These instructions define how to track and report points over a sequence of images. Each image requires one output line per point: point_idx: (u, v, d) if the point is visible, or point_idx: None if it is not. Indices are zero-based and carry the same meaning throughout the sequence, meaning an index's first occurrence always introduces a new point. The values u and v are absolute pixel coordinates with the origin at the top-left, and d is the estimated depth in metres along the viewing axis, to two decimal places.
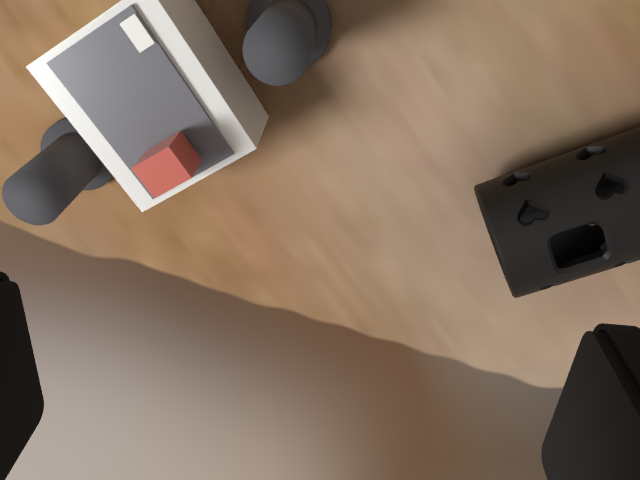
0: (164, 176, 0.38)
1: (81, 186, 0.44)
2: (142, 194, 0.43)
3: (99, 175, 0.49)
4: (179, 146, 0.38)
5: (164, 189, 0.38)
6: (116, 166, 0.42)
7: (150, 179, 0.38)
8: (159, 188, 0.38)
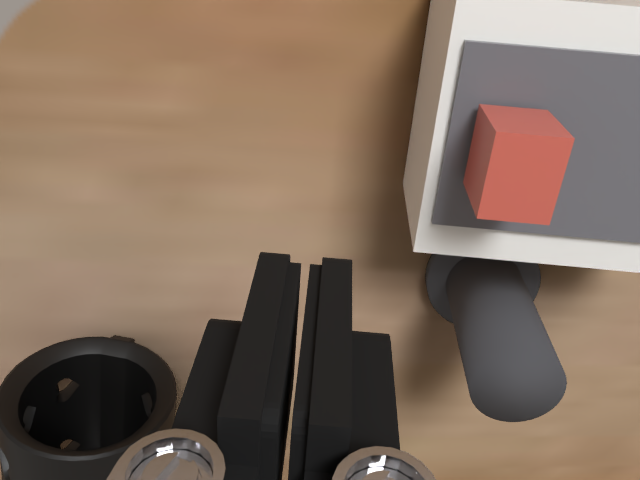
0: (514, 181, 0.19)
1: None
2: (485, 23, 0.20)
3: None
4: None
5: (495, 161, 0.19)
6: (565, 22, 0.20)
7: (530, 154, 0.18)
8: (504, 155, 0.19)
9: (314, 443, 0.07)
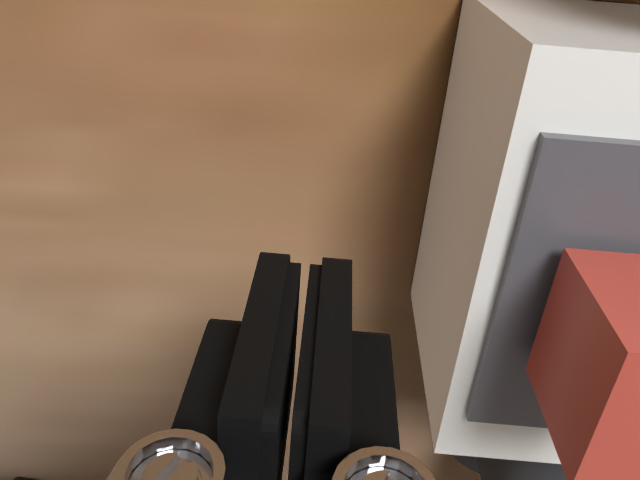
0: None
1: None
2: (583, 103, 0.10)
3: None
4: None
5: (618, 401, 0.09)
6: None
7: None
8: (639, 393, 0.09)
9: (314, 443, 0.07)
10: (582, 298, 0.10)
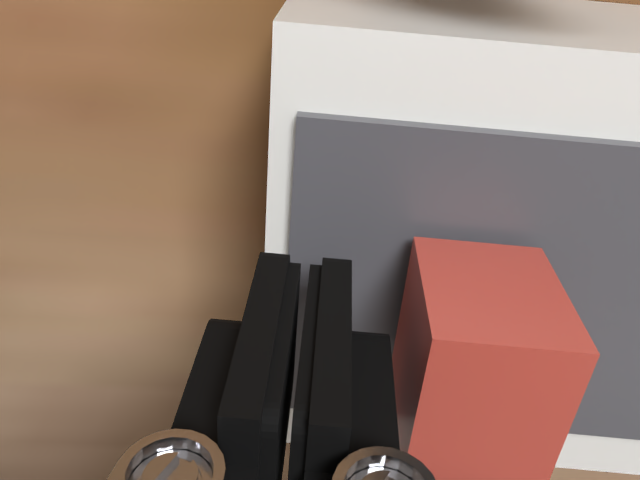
0: (473, 422, 0.09)
1: None
2: (334, 82, 0.10)
3: None
4: None
5: (432, 389, 0.09)
6: (487, 82, 0.10)
7: (506, 379, 0.09)
8: (451, 380, 0.09)
9: (314, 443, 0.07)
10: (417, 286, 0.10)
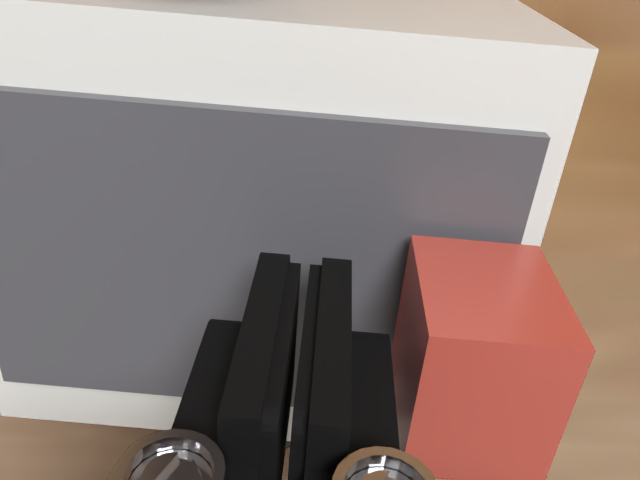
0: (471, 419, 0.09)
1: None
2: None
3: None
4: None
5: (429, 386, 0.09)
6: (109, 49, 0.10)
7: (502, 376, 0.09)
8: (448, 377, 0.09)
9: (314, 443, 0.07)
10: (415, 284, 0.10)
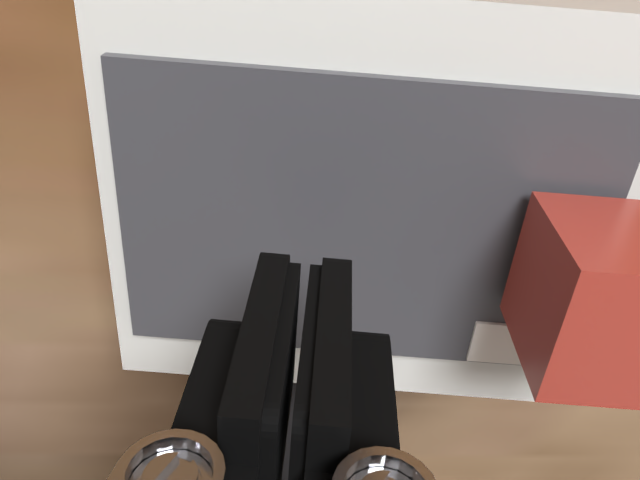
0: (606, 348, 0.11)
1: None
2: (133, 24, 0.12)
3: None
4: None
5: (574, 317, 0.10)
6: (267, 22, 0.11)
7: None
8: (592, 308, 0.10)
9: (314, 443, 0.07)
10: (546, 232, 0.11)
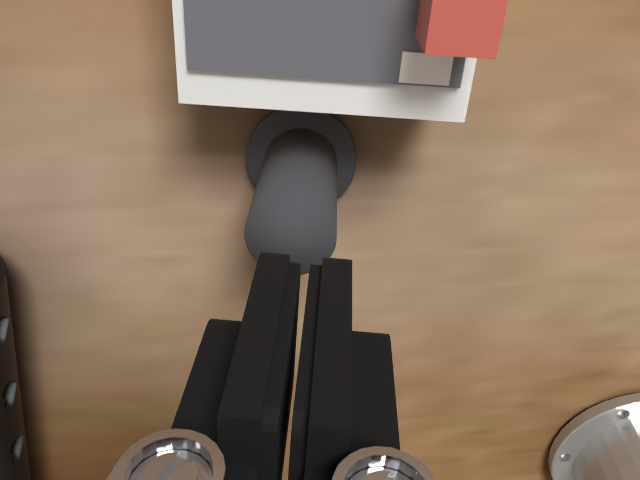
0: (459, 11, 0.19)
1: None
2: None
3: None
4: None
5: None
6: None
7: None
8: None
9: (314, 443, 0.07)
10: None
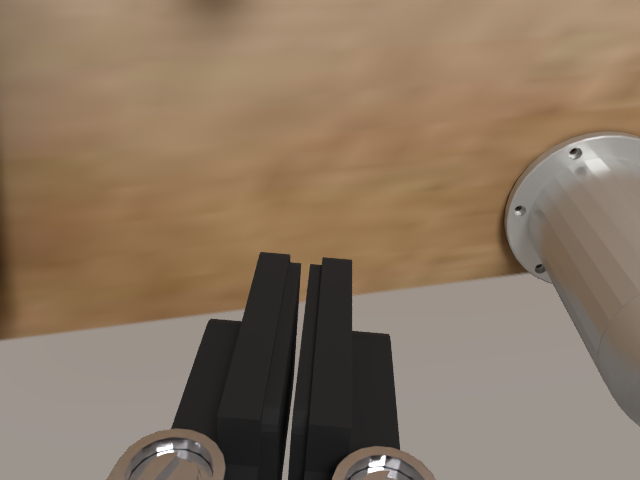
0: None
1: None
2: None
3: None
4: None
5: None
6: None
7: None
8: None
9: (314, 443, 0.07)
10: None
